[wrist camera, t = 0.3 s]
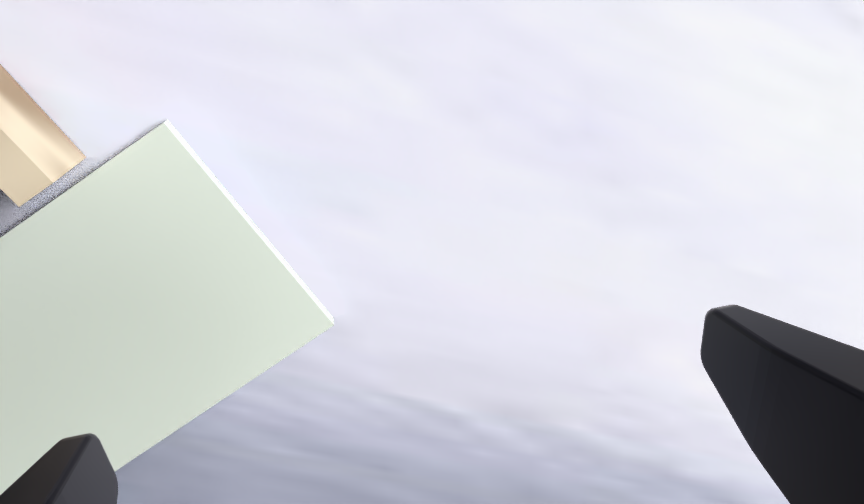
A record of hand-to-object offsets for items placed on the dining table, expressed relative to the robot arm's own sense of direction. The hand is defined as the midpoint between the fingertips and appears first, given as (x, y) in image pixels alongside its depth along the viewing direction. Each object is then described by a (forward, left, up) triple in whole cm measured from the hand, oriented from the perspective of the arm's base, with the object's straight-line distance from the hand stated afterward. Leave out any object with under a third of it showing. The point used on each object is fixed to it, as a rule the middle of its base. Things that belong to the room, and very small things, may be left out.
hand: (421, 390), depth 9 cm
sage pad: (-6, +10, -14) cm, 19 cm away
